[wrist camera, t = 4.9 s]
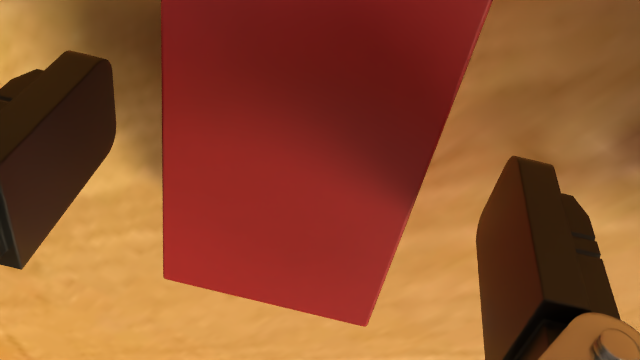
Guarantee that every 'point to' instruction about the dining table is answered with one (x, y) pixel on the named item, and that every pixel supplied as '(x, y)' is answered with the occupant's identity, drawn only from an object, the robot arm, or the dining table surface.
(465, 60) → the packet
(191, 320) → the dining table surface
